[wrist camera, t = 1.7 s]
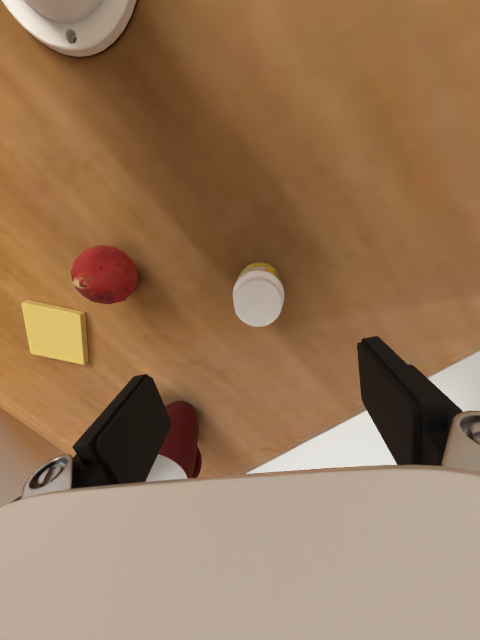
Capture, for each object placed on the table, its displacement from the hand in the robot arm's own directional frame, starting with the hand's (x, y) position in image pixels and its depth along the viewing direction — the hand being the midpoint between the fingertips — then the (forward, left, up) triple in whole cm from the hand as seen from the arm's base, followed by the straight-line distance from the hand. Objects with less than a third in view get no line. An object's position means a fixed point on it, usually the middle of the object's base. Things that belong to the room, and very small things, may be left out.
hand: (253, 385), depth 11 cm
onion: (-14, -6, -18) cm, 24 cm away
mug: (+2, -22, -18) cm, 29 cm away
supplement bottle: (0, +1, -18) cm, 18 cm away
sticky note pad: (-19, -19, -18) cm, 33 cm away
